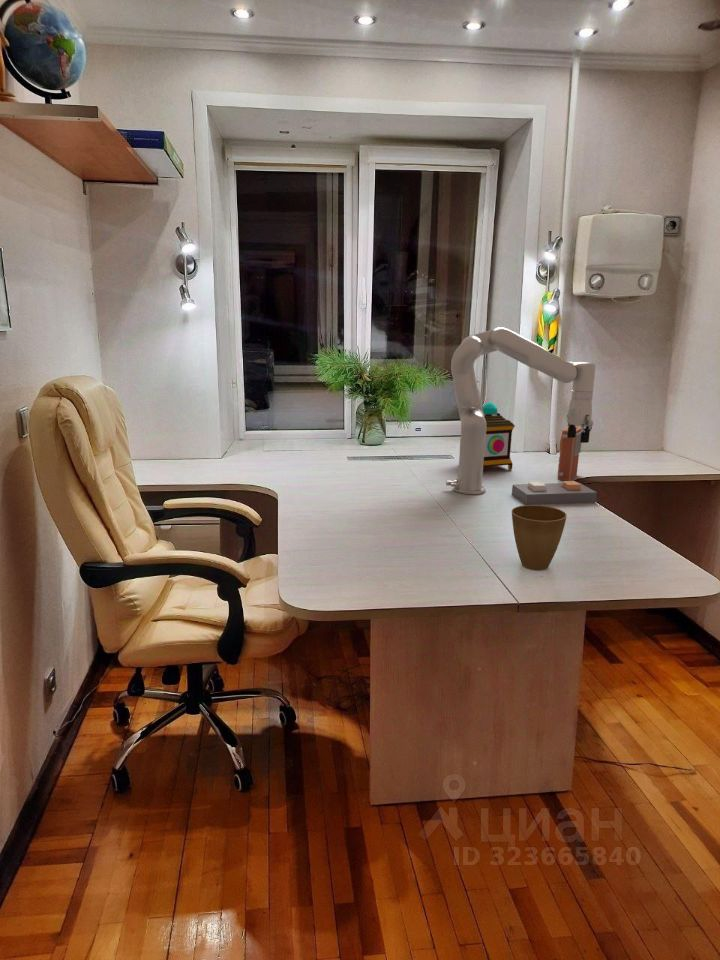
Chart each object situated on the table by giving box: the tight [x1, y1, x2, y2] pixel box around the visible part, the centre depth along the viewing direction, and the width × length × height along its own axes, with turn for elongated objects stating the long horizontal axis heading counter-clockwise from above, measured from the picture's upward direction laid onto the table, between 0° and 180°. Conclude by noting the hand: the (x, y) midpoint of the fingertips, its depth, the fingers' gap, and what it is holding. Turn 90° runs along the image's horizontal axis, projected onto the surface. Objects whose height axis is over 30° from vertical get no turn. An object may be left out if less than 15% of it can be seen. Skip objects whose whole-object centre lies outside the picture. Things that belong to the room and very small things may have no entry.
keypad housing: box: [511, 482, 598, 505], centre depth 253 cm, size 28×14×4 cm, turn 100°
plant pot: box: [511, 504, 568, 571], centre depth 185 cm, size 15×15×16 cm
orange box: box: [556, 426, 582, 481], centre depth 282 cm, size 21×7×15 cm
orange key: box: [561, 480, 582, 490], centre depth 253 cm, size 5×5×3 cm
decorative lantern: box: [482, 401, 516, 471], centre depth 295 cm, size 20×20×30 cm
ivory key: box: [527, 481, 546, 491], centre depth 251 cm, size 5×5×3 cm
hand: (577, 439), depth 251 cm, fingers open, 9 cm apart
